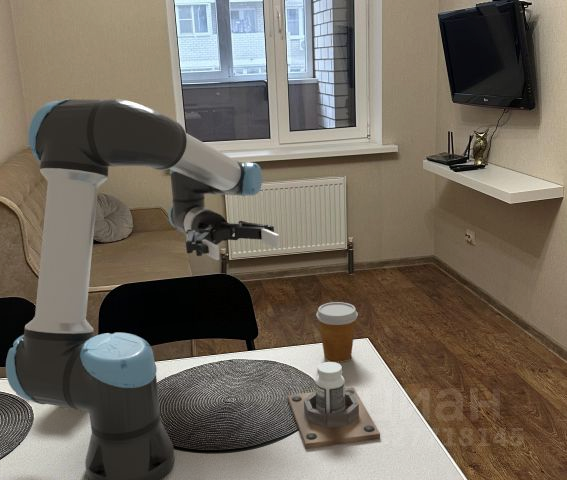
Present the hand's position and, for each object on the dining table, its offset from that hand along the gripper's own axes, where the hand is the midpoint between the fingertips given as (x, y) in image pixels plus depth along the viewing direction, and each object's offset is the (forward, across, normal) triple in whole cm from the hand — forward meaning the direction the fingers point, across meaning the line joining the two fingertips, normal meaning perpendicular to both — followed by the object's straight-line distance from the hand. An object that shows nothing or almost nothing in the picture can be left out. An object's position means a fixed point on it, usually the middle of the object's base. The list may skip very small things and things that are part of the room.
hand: (248, 247), depth 130 cm
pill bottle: (+17, -7, -31) cm, 36 cm away
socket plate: (+18, -7, -32) cm, 37 cm away
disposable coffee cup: (-4, -24, -32) cm, 40 cm away
